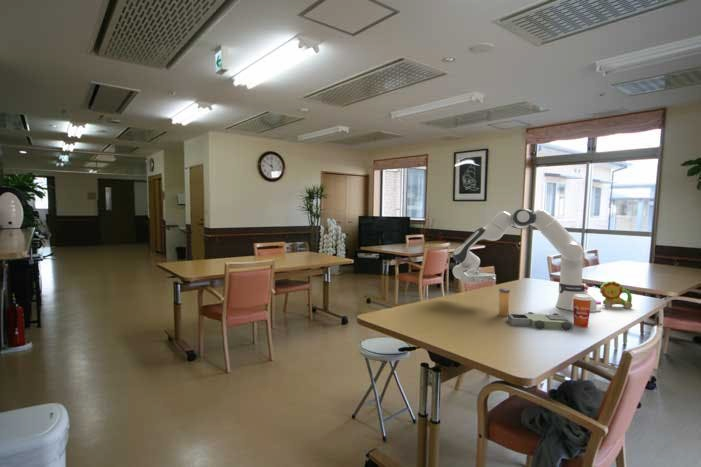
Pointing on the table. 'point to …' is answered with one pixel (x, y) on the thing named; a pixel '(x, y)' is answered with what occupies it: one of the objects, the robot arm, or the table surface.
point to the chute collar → (519, 319)
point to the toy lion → (615, 294)
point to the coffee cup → (581, 309)
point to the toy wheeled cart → (550, 321)
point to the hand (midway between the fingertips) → (488, 280)
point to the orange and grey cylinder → (504, 302)
